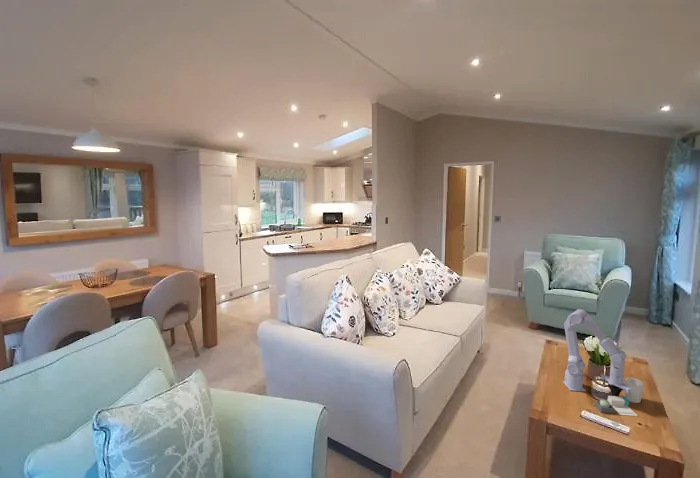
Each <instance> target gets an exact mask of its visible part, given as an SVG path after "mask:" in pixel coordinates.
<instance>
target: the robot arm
mask: <svg viewBox="0 0 700 478" xmlns="http://www.w3.org/2000/svg"><path fill="white" fill-rule="evenodd" d="M578 325H580V327H584V328H587V329H588V330H590V333H592V334H593V335H594V336H595V337H596V338H597V339H598V340H599V343H598V344H599V346H601V348H602V349H603V350H604V351H605V352H606V354H607V355H608V356H609V360H610V361H611V362H610V367H609V368H610V369H609V375H606V374H603V375H602V376H601V379H602V380H605V381H607V382H608V383H607V384H608V385H607V387H608V389H609V390H611V391H610V393H611V396H619V395H620V394H621V392H623V391H626V392H627V393H631V389H630V388H629V387H627V386H626V385H625V382H624V380H625V361H626V359H627V354H626V353H625V351H623V350H622V349H621V348H619V347H618V346H617V345H616V344H615V341H614V339H611V338H610V337H608V336H605V334H604V333H603V332H602V330H601V329H600V327H599V326H598V325H597V324H596V323H595V321H594V320H593V317H592V316H591V315H590V314H588V312H587V311H586V310H584V309H582V308H578V309H576V310H575V311H573V312H572V313H570V314H569V315H568V316H567V318H566V320H565V321H564V323H563V327H564V333H565V339H566V345H567V346H566V347H567V351H568V359H567V365H566V370H565V372H564V380H563V381H562V383H563V384H564V385H565V386H566V388H567V389H568V390H569V391H573V392H587V391H586V389H585V388H584V387H583V385H584V384H583V382H584V381H583V380H584V370H583V369H585V367H586V363H585V362H584V360H583V357H582V355H581V354H580V348H579V343H578V336H577V329H576V327H577V326H578Z"/></svg>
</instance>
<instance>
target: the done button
mask: <svg viewBox="0 0 700 478" xmlns="http://www.w3.org/2000/svg"><path fill="white" fill-rule="evenodd" d="M599 401H600V405H601V406H602V407H607V408H609V407H610V403H609V402H608V400H606V399H600V400H599Z"/></svg>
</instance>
